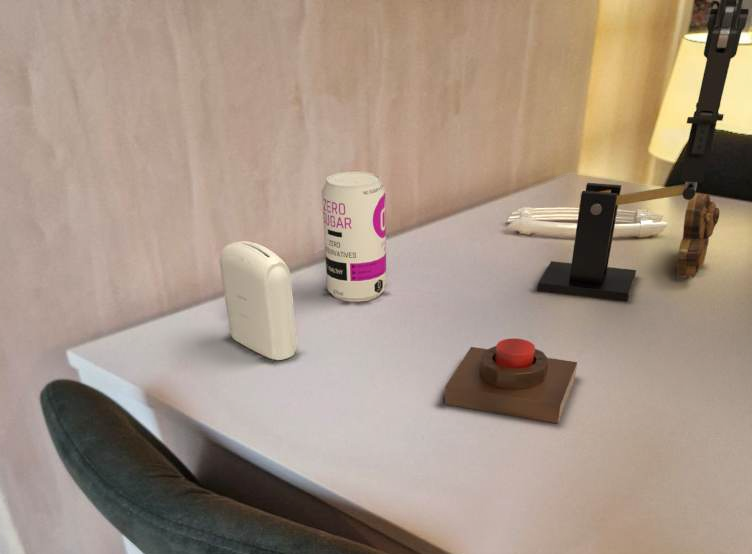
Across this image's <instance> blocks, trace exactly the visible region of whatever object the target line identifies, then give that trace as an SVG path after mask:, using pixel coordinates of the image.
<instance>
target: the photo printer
mask: <svg viewBox="0 0 752 554" xmlns="http://www.w3.org/2000/svg"><path fill="white" fill-rule="evenodd" d="M219 267H220V273H221V281H222V287H223V295H224V301H225V307H226V314H227V320H228V326H229V332H230V336H231V338H232V339H233V340H234V341H236V342H237V343H239V344H241V345H243V346H244V347H246V348H248V349H250V350H252V351H254V352H256V353H258V354H259V355H261V356H264V357H266V358H268V359H270V360H275V361H282V360H287V359H289V358H291V357H293V356H294V355H295V352H296V351H298V341H297V330H296V320H295V312H294V311H295V310H294V309H295V308H294V299H293V289H292V280H291V272H290V269H289V266H288V265H287V264H286V263H285V261H284V260H283V259H282V258H281V257H280V256H278V255H277V254H276V253H275V252H273V251H272V250H271V249H269V248H267V247H265V246H263V245H261V244H259V243H256V242H252V241H248V240H241V241H236V242H233V243H228V244H227V245H225V246H224V247H223V249H222V251H221V252H220V256H219Z"/></svg>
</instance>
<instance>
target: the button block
mask: <svg viewBox="0 0 752 554" xmlns="http://www.w3.org/2000/svg"><path fill="white" fill-rule="evenodd" d="M495 355H496V345H495V346H491V347H489V348H483V347H475V346H470V348H469V349H468V351H467V352H466V354H465V355H464V356H463V359H462V360H461V361H460V363H459V365H458V366H457V368H456V369H455V371H454V372H453V374H452V375H451V377H450V378H449V380H448V382H447V383H446V385H445V388H444V405H447V406H452V407H459V408H465V409H471V410H476V411H483V412H486V413H487V412H489V413H493V414H500V415H505V416H510V417H511V416H512V417H518V418H523V419H528V420H529V419H530V420H535V421H541V422H547V423H552V424H559V421H560V419H561V416H562V414H563V411H564V408H565V406H566V403H567V400H568V398H569V396H570V392H571V391H572V388H573V385H574V382H575V379H576V374H577V367H578V361H572V360H567V359H566V360H565V359H560V358H559V359H558V358H551V357H548V356H547V355H546V353H544V352H543V351H542V350H540V349H537V348H535V352H534V361H533V365H531V366H529V367H527V368H518V369H514V368H507V367H503V366H501V365H499V364H496V362H495Z"/></svg>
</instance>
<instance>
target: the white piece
mask: <svg viewBox="0 0 752 554" xmlns="http://www.w3.org/2000/svg"><path fill="white" fill-rule="evenodd" d="M578 214H579V207H533V206H522V207H521V208H518V209H517V208H516V209H515V210H514V211H512V212H511V213H510V214H509V216H508V219H507V223H509V224H508V225H507V227H506V229H507V231H514V232H518V233H519V234H521V235H527V236H531V234H539V235H550V236H562V237H563V236H565V237H575V235H576V228H577V222H576V223H575V222H574V223H573V222H557V221H578ZM663 218H664V214H663V213H654V212H649V210H648V209H639V208H636V209H635V210H627V209H617V215H616V221H615V226H614V232H613V238H624V237H625V238H628V237H637V238H638V239H639V238H641V239H642V238H650V236H657V235H659V234H661V233H663V232H664V231H665V230H666V228H667V226H668V222H667V221H663Z"/></svg>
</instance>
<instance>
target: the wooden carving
mask: <svg viewBox="0 0 752 554" xmlns="http://www.w3.org/2000/svg"><path fill="white" fill-rule="evenodd" d="M716 205H717V204H716V203H715V202H714V201H711V197H710V194H705V193H704V194H699V193H695V196H694V197H693V198H692V199H690V200H687V206H686V209H685V214H684V219H683V220H684V221H683V232H682V238H681V241H680V245H679V249H678V257H677V258H678V259H677V270H676V277H677V278H685V277H693V278H694V277H695V276H696V273H697V270H701V269H702V267H703V265H704V262H705V259H706V255H707V251H708V246H709V242H710V237H712V236H713V233H714V230H715V227H716V225H717V224H718V222H719V219H720V209H719V207H717V206H716Z"/></svg>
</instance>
